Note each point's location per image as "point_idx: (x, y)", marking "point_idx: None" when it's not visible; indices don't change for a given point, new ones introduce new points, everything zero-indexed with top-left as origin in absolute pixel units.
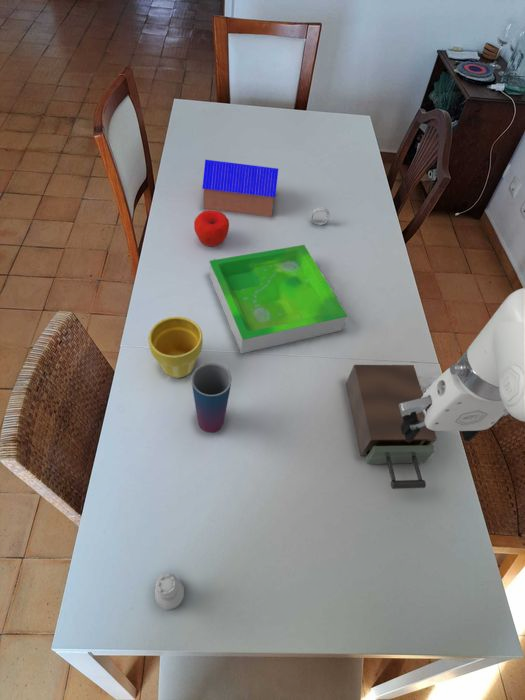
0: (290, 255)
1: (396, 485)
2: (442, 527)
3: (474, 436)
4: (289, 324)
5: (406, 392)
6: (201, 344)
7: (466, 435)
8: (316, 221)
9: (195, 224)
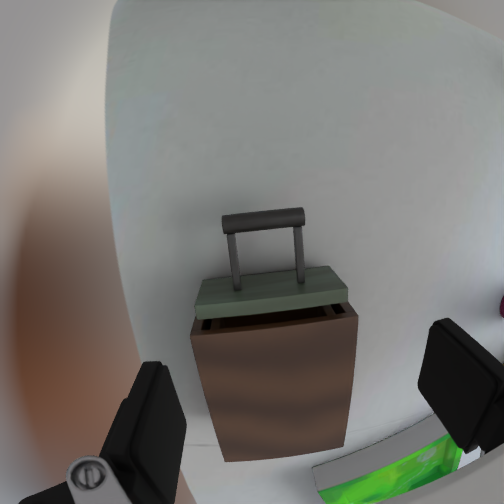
0: None
1: (297, 213)
2: (180, 146)
3: (128, 395)
4: (407, 459)
5: (248, 422)
6: None
7: (163, 392)
8: None
9: None
